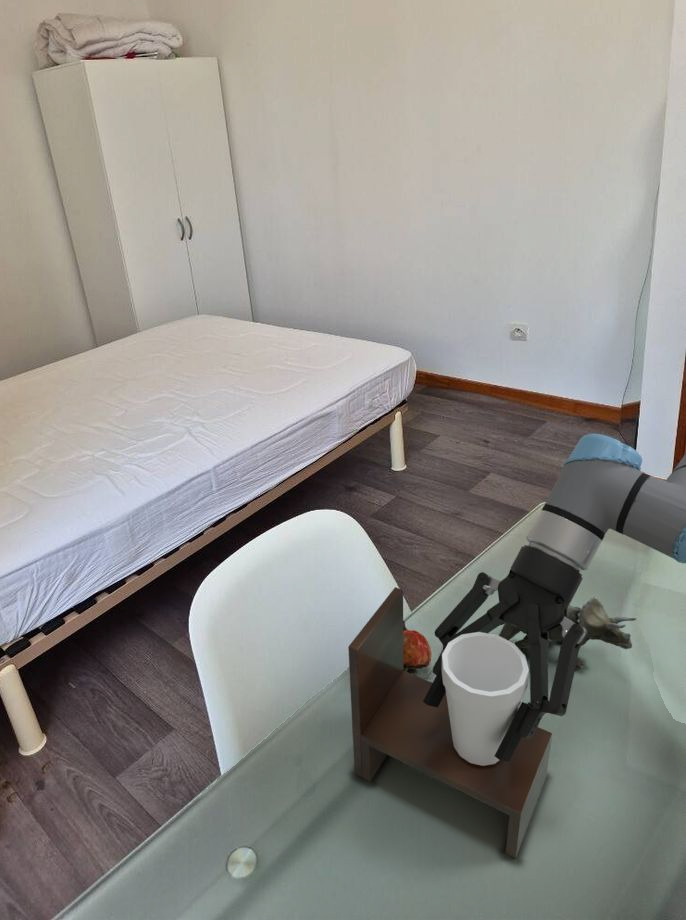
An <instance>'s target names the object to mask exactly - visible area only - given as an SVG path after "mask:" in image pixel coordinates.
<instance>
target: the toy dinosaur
mask: <svg viewBox="0 0 686 920" xmlns="http://www.w3.org/2000/svg"><path fill="white" fill-rule="evenodd" d="M567 618H568V619H570V620H571V621H573V622H574V623H575V624H579V625H581V626H582V627H584V628H585V629H587V631H588V636H587V638H586V639H585V641H584V642H583V644H582V646H584V645H586V644H587V642H589V641H591V640H592V641H594V640H595V641H602V642H604V643H606V644H610V645H614V646H615V647H619V648H621V649H623V650H630V649H632V648H633V643H632V640H631V637H632V635H631V633H630V632H629V633H628V632H624V631H621V629H623V628H625V627H626V624H622V625H621V624H620V625H619V623H622V622H632V621H633V622H634V621H636V620H637V618H636V617H629V616H623V615H622V616H621V615H620V616H615V617H610V616H609V615H608V614H607V612H606V609H605V608H604V604H602V602H601V600H599V599H598V598H596V597H595V596H593V598H592V597H590V599H589V600H587V602H586V603H583V605H582V607H579V606H573V605H570V604H569V606H568V608H567ZM562 630H563V628H562V625H561V626H559V627H557V628H555V629H553V630H550V631H549V641H551V642H557V643H562V641H563V639H564V638H563V636H562ZM520 632H522V631H521V630H520V629H519V628H518V627H515V626H513V625H511V624H509V623H505V624H503V625H502V628H501V631H500V632H499V634H498V636H500V637H502V638H504V639H506V640H508V641H510V640H511V639H512V638H514V637H515V636H516V635H517V634H519V633H520ZM522 633H523V634H525V636H524V637H523V638H522V639H520V640H519V639H518V640H516V641H515V642H513V643H514V644H515V645H516V646H517V648H518V649H519V650H520V651H521V652H522V653H523V654H524V655H525V656H526V653H525V651H524V650H525V649H526V648H530V643H529V640H528V634H526V633H524V632H522ZM560 648H561V646H560V647H559V649H560ZM582 660H583V659H582V658H580V657H578V658H577V662H576V667H575V669H577V668H578V669H584V666H585V665H586V663H585V662H584V661H582Z"/></svg>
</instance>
